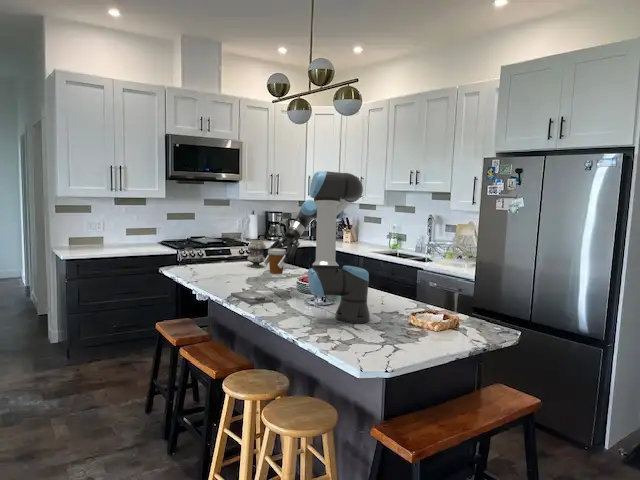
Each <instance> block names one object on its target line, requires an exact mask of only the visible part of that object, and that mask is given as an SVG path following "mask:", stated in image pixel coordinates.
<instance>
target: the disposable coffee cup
mask: <svg viewBox="0 0 640 480" xmlns="http://www.w3.org/2000/svg"><path fill="white" fill-rule="evenodd" d="M268 249H269V248H268ZM268 249H267V250H268ZM286 252H287V249H285V248H281V249H277V248H273V249H269V250H268V251H267V255H268V254H269V263H268V264H269V274H271V275H281V274H283V272H284V265H285V264H284V265H283V267H282V268H280V267H279V266H278V264H279V262H280V261H281V259H282V258H283V256H284V255H286Z"/></svg>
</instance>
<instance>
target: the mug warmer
mask: <svg viewBox="0 0 640 480" xmlns="http://www.w3.org/2000/svg"><path fill="white" fill-rule="evenodd" d="M230 295H231V296H232V297H234V298H236V299H238V300H240V301H242V302H244V303H246V304H248V305H250V306H251V305H258V304H260V305H261V304H266V303H267V304H268V303H275V300H274V298H271V297H269V296H267V295H265V294H264V293H262V292H257V291H255V290H249V291H248V290H247V291H238V292H237V291H236V292H235V291H234V292H230Z"/></svg>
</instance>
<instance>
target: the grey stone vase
mask: <svg viewBox="0 0 640 480" xmlns="http://www.w3.org/2000/svg"><path fill="white" fill-rule="evenodd" d="M247 247H248V249H249V254H248V257H247V261H248V262H249V263H252V264H250V265H249V266H248V268H250V269H251V268H252V269H262V268H264V266H263V265H262V263H264V260H265V259H266V257H265V254H264V251H265V249H266V248H267V247H266V244H265V243H264V240H259V239H257V240H256V239H251V240H250V242H249V244H248V246H247Z"/></svg>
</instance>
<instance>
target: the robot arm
mask: <svg viewBox="0 0 640 480" xmlns="http://www.w3.org/2000/svg"><path fill="white" fill-rule="evenodd" d="M309 187H310V188H309V196H310V198H312V199H307V200H305V201H304V202H303V203H302V205H301V207H300V210H299V212H298V213H297V216H296V217H295V219H294V221H292V223H291V224H290V225H289V226H288V228H287V230H286V232H285V234H284V237H282V238H281V237H280V236H278V237H277V239H276V240H275V241H274V243H273V244H271V245H270V247H269V248H268V249H267V250H266V251H267V252H268V250H269V249H273V248H277V249H285V248H286V247H287V248H286V255H284V256H283V258H282V259H281V261H280V262H279V264H278V266H279V267H280V268H282V267H283V265H285V263H287V262H288V261H289V259H293V258H294V257H295V255H296V251H297V249H298V247H299V246H300V244H301V243H300V242H299V240H300V239H301V236H302V235H303V233H304V232H305V230H306V228H308V226H309V225H310V223H311V222H312V221H313V219H316V230H315V231H316V235H315V236H316V238H315V239H316V240H315V241H316V242H315V261H313V263H312V265H311V268H309V269H308V270H307V284H308V287H309V291H310V293H311V294H312V295H314V296H316V297H318V296H319V297H326V296H327V297H330V296H331V297H334V296H335V297H340V301H339V304H338V306H337V309H336V312H335V319H336V320H337V321H340V322H343V323H348V324H365V323H368V322H370V318H371V316H370V311H369V306H368V293H369V282H370V279H369V277H370V274H369V271H368V270H366V269H365V268H361V267H358V266H353V265H343V266H342V268H341V269H340V268H339V267H340V265H339V264H338V263H337V262H336V251H337V250H336V248H337V244H336V242H337V220H341V219H342V218H343V216H344V210H346V209H347V207H349V205H351V204H352V203H354V202H356V201H358V200H359V199H360V198H361V197H362V195H363V193H364V187H363V183H362V182H361V180H360V179H359V177H357V176H356V175H354V174H352V173H349V172H338V171H337V172H336V171H328V170H324V171H323V170H321V171H319V170H318V171H316V172H315V173H314V174H313V176H312V179H311V182H310V186H309ZM263 264H264V265H265V266H268V264H269V254H268V253H267V255H266V257H265V260H264V262H263ZM283 268H284V267H283Z"/></svg>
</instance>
